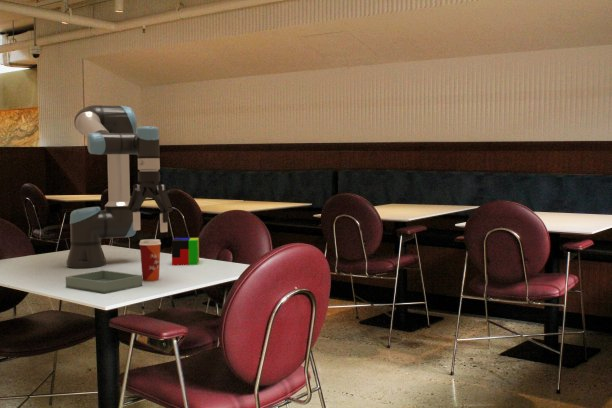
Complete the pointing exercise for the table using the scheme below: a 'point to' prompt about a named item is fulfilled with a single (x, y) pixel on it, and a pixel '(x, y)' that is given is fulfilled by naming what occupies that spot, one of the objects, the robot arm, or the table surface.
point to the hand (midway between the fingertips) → (150, 231)
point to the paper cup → (150, 259)
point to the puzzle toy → (185, 251)
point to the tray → (104, 281)
